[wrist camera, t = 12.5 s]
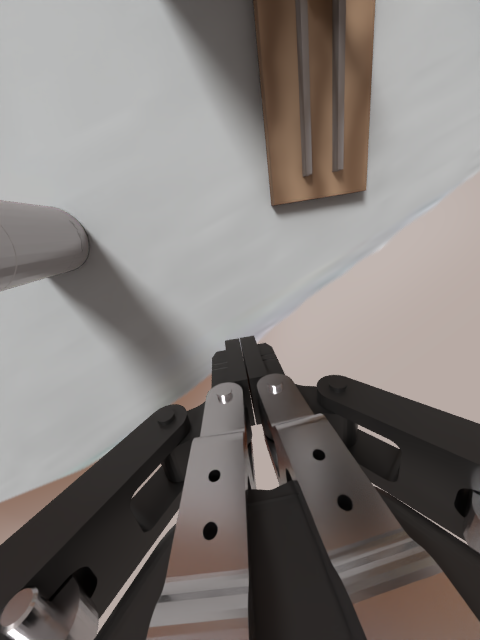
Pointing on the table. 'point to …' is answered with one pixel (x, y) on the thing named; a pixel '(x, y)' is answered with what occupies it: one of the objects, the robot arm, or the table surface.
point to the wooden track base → (315, 95)
